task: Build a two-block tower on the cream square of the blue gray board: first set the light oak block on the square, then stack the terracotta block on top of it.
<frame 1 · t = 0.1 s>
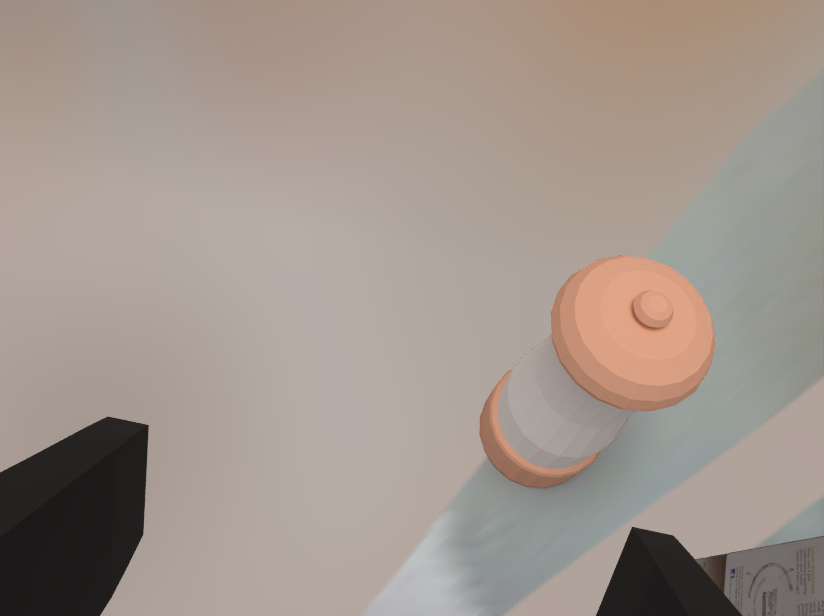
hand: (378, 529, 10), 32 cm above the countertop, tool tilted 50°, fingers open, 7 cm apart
pepper shaker: (533, 431, 44), on the countertop
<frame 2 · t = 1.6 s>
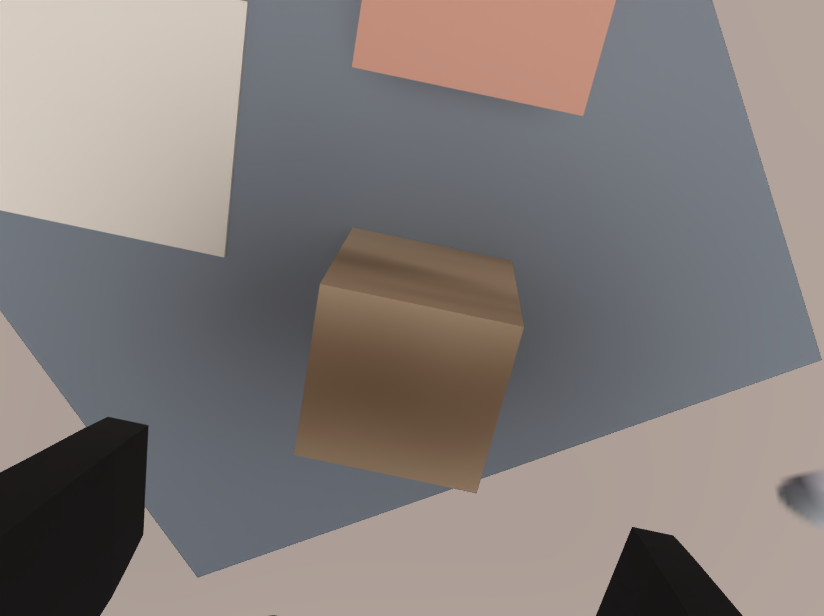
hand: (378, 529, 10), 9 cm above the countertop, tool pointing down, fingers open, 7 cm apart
blue gray board: (317, 172, 17), on the countertop
oak block: (416, 317, 18), point 1 cm above the countertop, touching blue gray board
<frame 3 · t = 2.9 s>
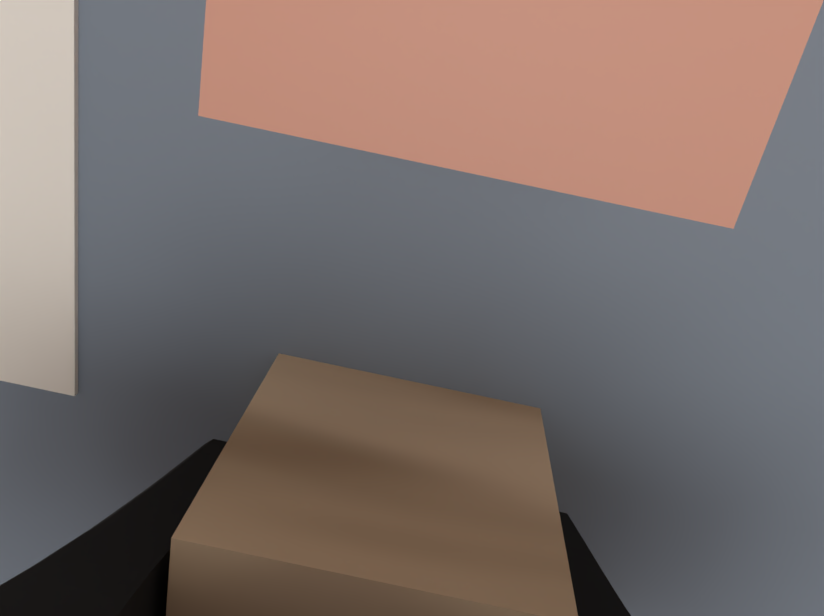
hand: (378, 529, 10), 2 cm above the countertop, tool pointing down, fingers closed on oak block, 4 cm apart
blue gray board: (222, 261, 10), on the countertop
oak block: (386, 487, 11), point 1 cm above the countertop, touching blue gray board, gripper
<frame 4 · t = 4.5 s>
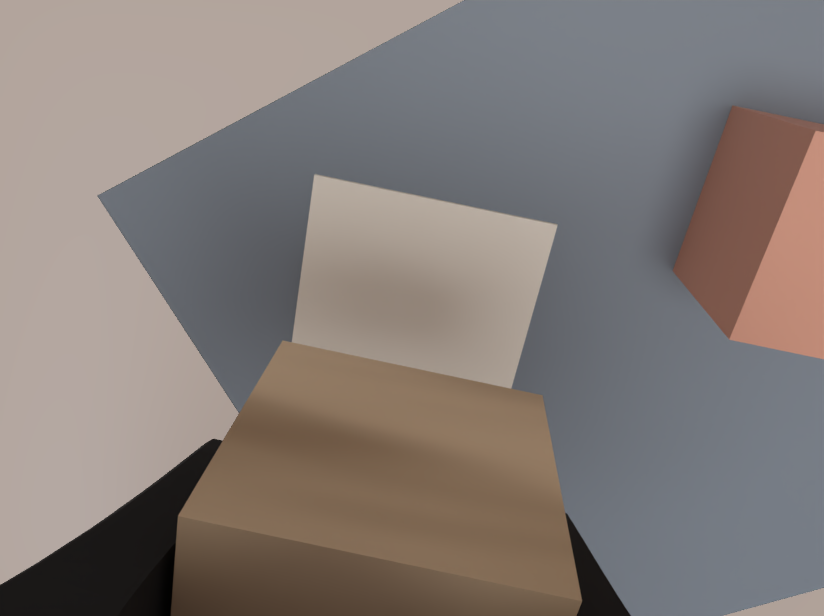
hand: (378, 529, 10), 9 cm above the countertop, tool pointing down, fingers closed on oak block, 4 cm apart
terracotta block: (784, 209, 16), point 1 cm above the countertop, touching blue gray board
blue gray board: (588, 357, 19), on the countertop
oak block: (389, 474, 11), point 8 cm above the countertop, touching gripper
when the fingers open (3 cm above the countertop, at t = 6.1 s): oak block stays where it is, resting on blue gray board.
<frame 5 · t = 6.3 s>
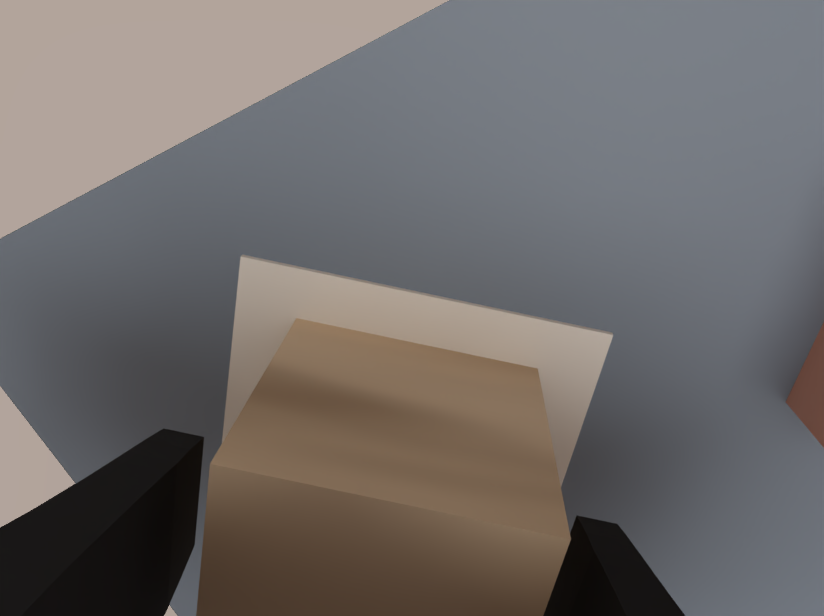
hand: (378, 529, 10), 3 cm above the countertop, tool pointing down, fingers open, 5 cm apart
blue gray board: (648, 508, 13), on the countertop
oak block: (394, 444, 12), point 1 cm above the countertop, touching blue gray board
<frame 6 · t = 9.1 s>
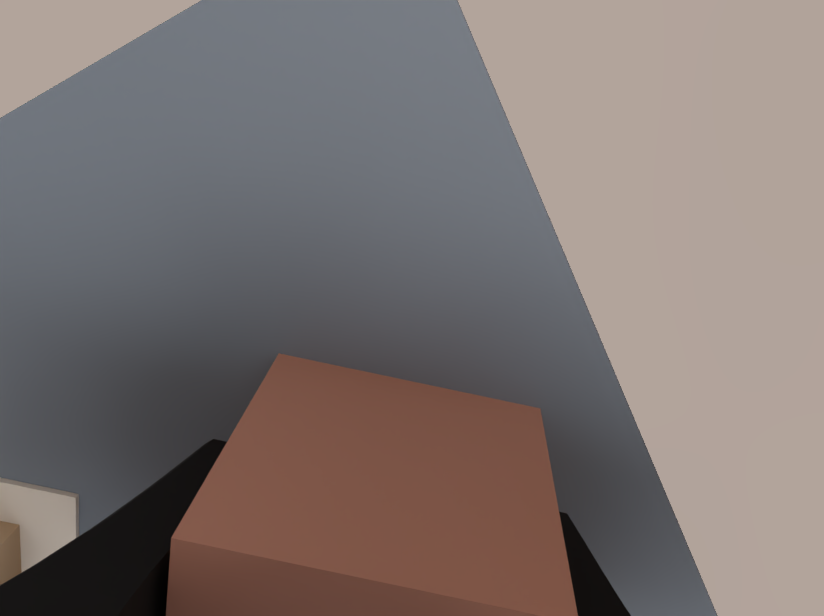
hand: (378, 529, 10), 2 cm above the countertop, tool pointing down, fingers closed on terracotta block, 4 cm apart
terracotta block: (386, 487, 11), point 1 cm above the countertop, touching blue gray board, gripper
when the fingers open (7 cm above the countertop, at t = 11.7 s): terracotta block stays where it is, resting on oak block.
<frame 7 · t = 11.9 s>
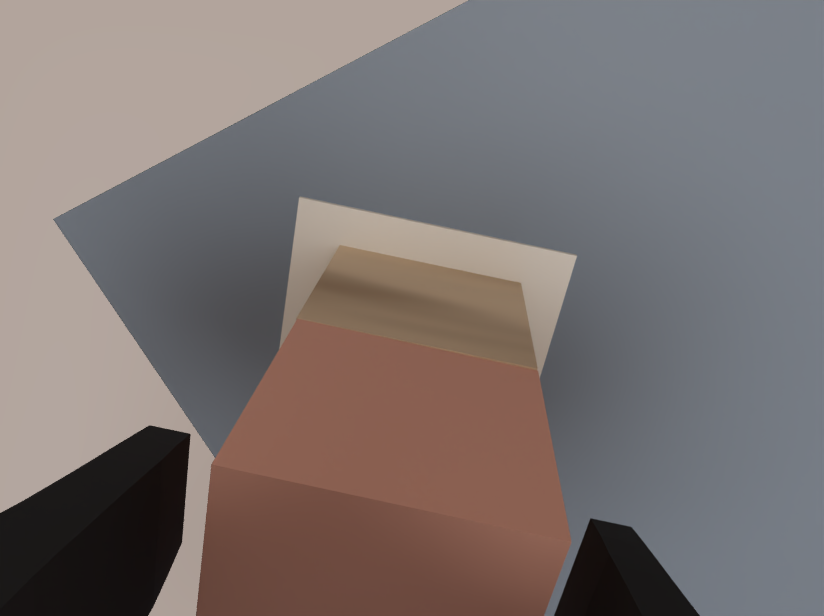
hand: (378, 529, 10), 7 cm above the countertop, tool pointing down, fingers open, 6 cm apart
terracotta block: (394, 445, 12), point 5 cm above the countertop, touching oak block
blue gray board: (608, 400, 16), on the countertop
oak block: (412, 345, 16), point 1 cm above the countertop, touching blue gray board, terracotta block
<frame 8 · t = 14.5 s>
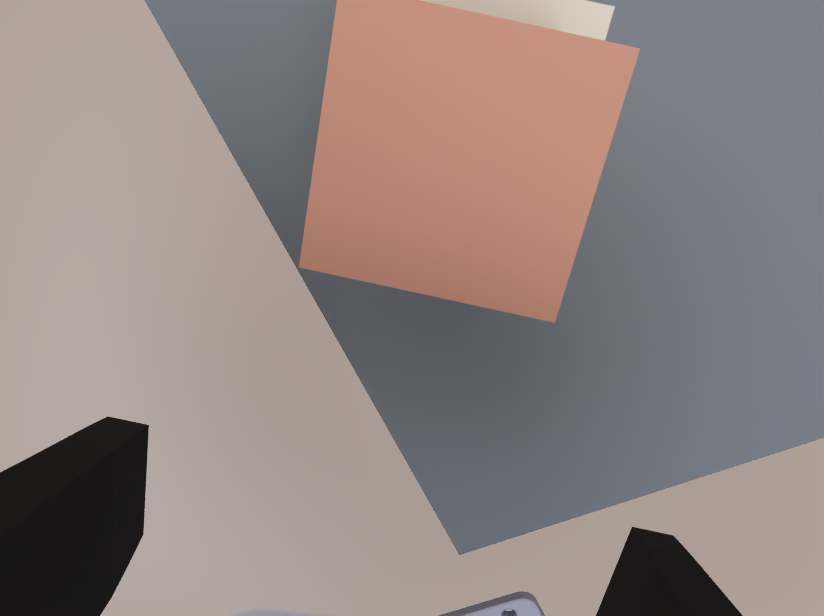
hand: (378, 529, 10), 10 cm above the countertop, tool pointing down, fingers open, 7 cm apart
terracotta block: (460, 127, 13), point 5 cm above the countertop, touching oak block
blue gray board: (639, 167, 18), on the countertop
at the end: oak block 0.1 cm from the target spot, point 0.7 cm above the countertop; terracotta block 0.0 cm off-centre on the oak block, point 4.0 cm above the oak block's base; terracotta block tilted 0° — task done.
